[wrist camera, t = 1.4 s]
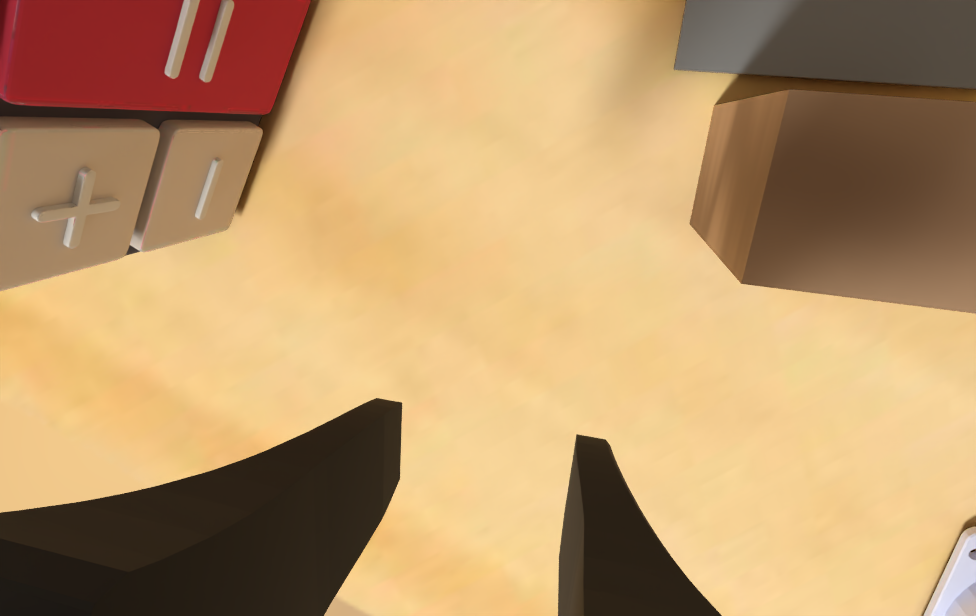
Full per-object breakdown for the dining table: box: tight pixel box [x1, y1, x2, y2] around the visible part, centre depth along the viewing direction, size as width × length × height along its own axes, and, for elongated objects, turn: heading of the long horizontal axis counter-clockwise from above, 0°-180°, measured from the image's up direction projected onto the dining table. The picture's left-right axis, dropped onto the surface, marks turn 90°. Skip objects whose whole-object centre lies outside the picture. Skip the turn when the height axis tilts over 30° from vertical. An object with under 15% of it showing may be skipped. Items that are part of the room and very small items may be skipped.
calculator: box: [0, 0, 311, 291], centre depth 14 cm, size 11×4×15 cm, turn 150°
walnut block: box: [690, 89, 976, 313], centre depth 14 cm, size 4×6×8 cm, turn 86°
